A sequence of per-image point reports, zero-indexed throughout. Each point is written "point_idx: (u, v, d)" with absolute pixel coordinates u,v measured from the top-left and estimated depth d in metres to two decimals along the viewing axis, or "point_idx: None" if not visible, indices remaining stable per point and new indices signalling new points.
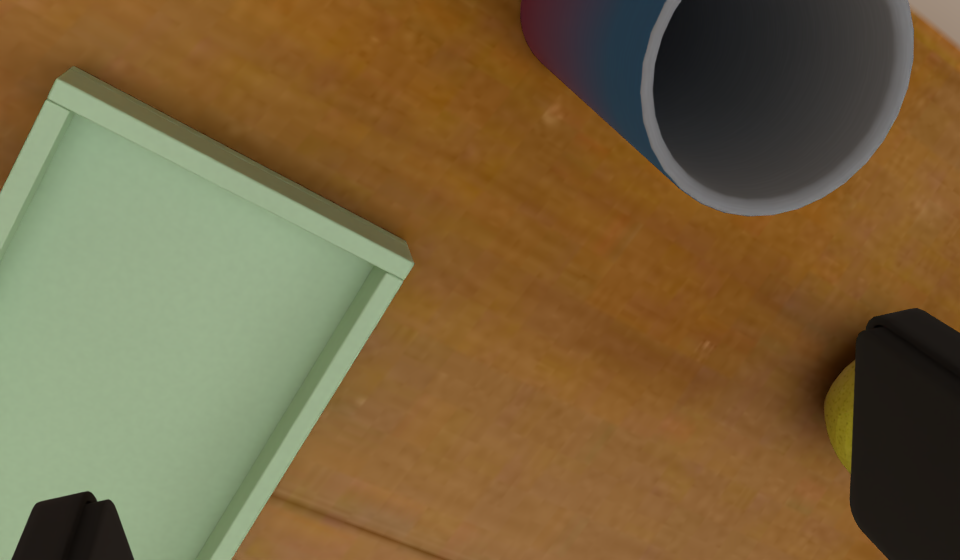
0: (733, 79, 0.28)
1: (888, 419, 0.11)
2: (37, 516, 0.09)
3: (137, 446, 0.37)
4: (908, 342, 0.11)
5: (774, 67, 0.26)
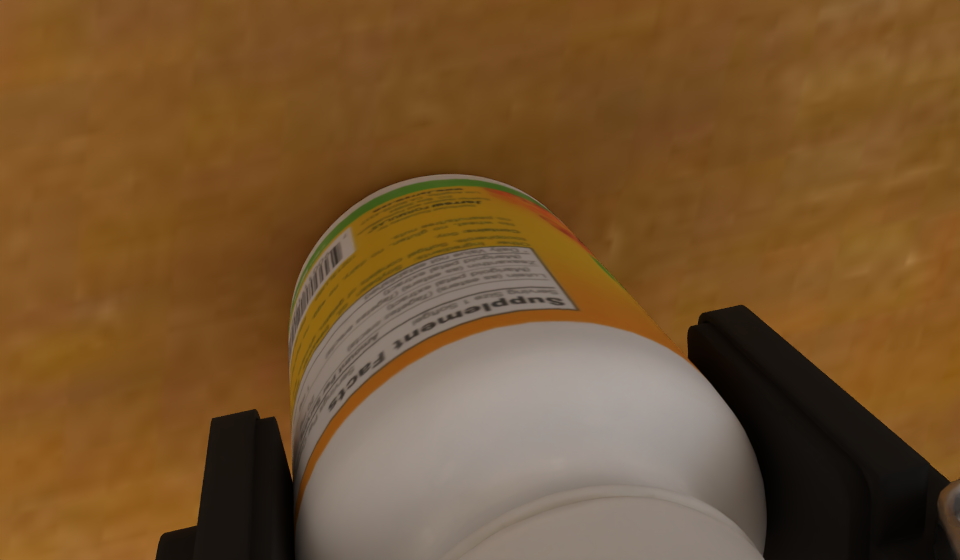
0: None
1: None
2: (217, 428, 0.11)
3: None
4: (728, 336, 0.11)
5: None
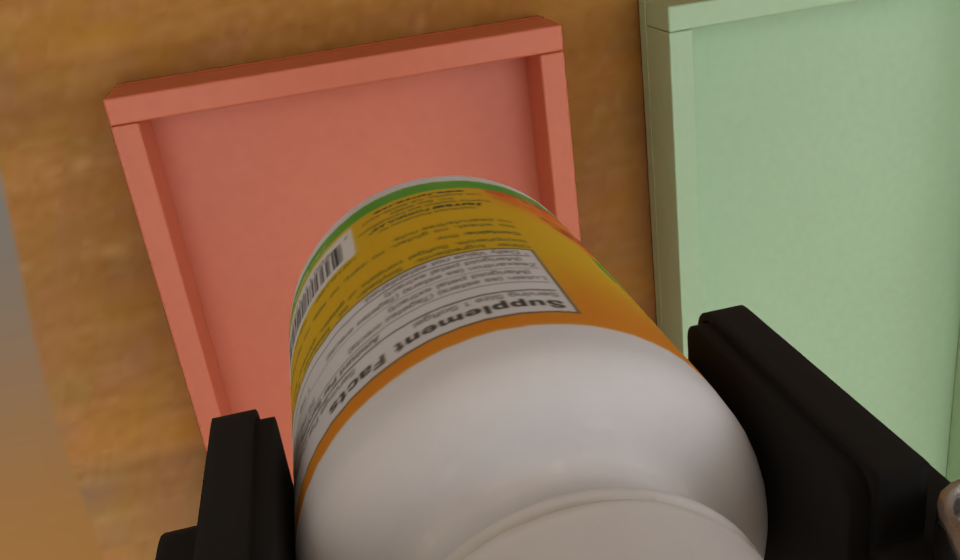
0: None
1: None
2: (217, 428, 0.11)
3: (861, 298, 0.36)
4: (728, 336, 0.11)
5: None
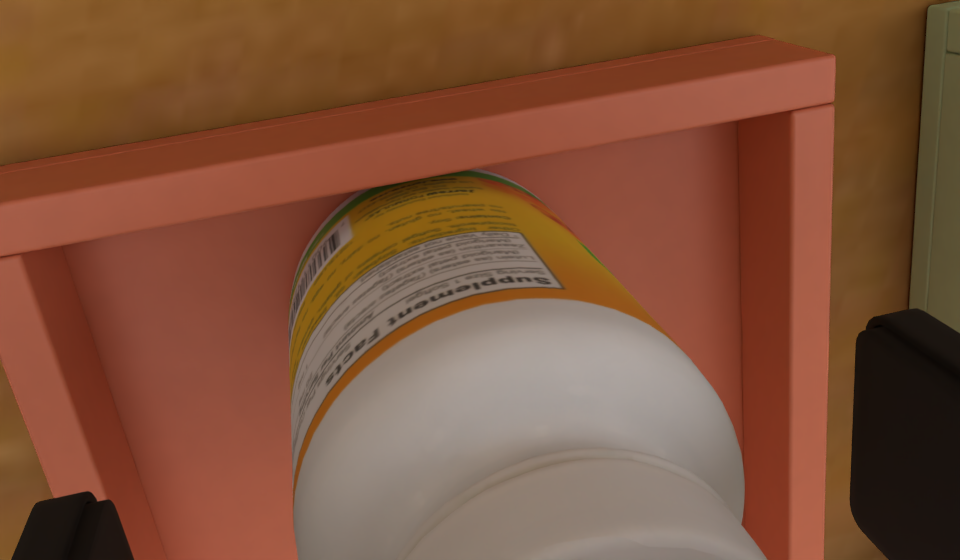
0: None
1: (888, 419, 0.11)
2: (37, 516, 0.09)
3: None
4: (908, 342, 0.11)
5: None
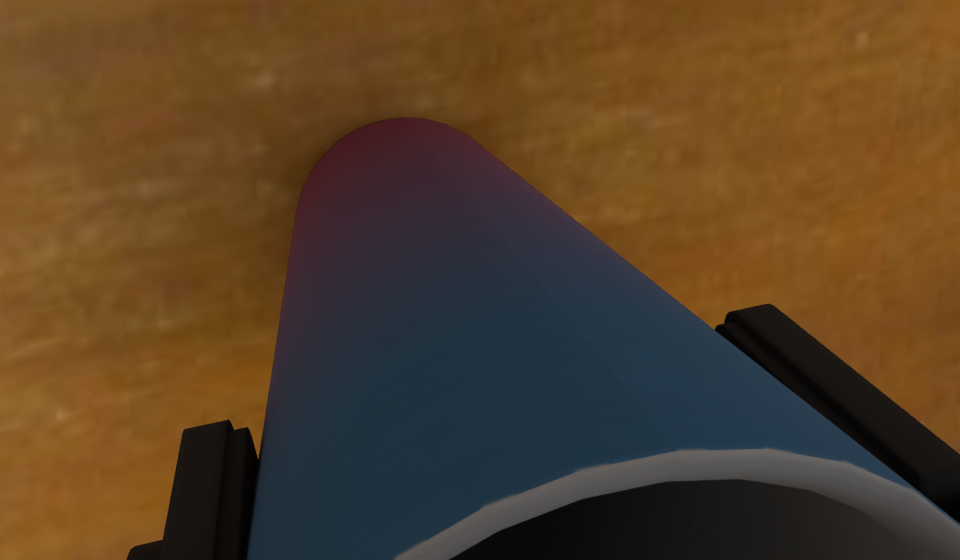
0: None
1: None
2: (188, 439, 0.10)
3: None
4: (755, 334, 0.11)
5: None
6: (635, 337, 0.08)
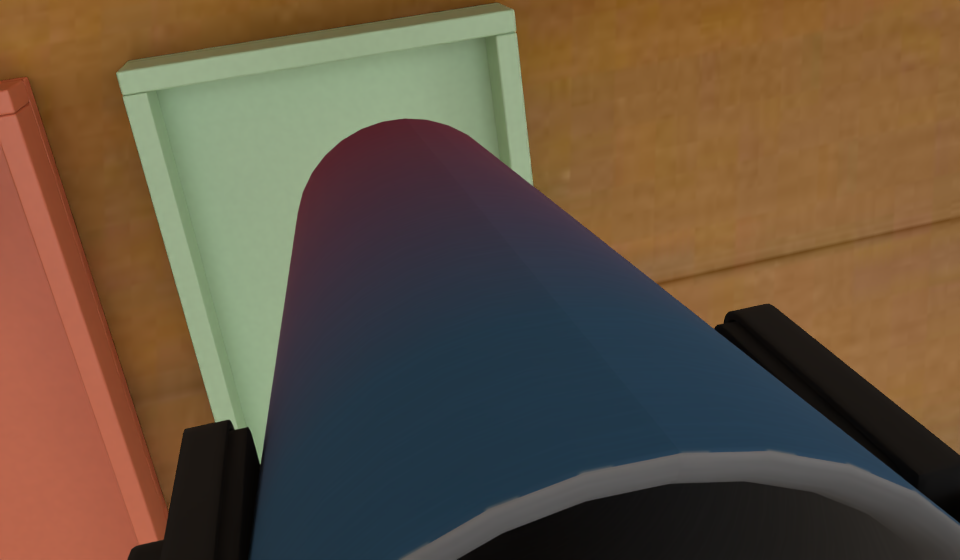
0: None
1: None
2: (189, 439, 0.10)
3: None
4: (755, 334, 0.11)
5: None
6: (638, 339, 0.08)
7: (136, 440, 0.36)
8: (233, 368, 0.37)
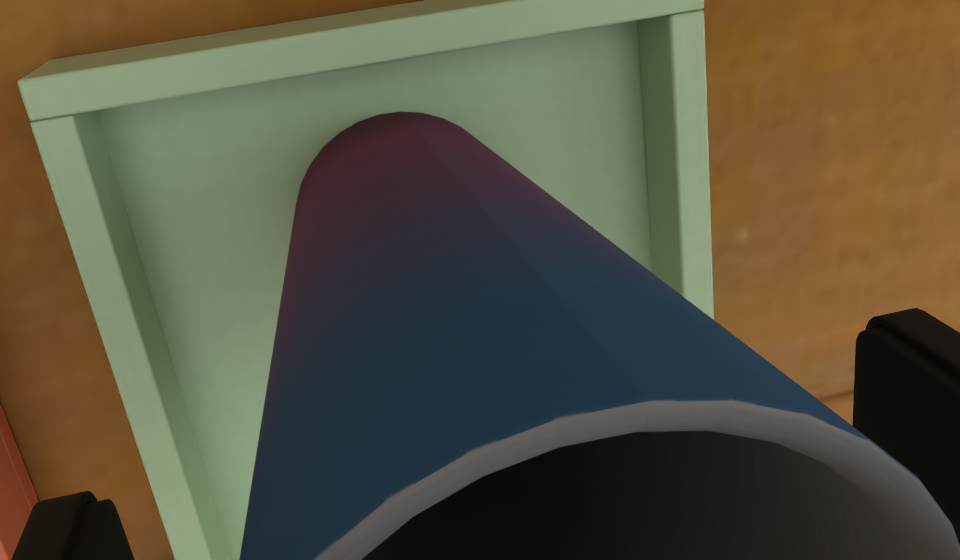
0: None
1: (888, 419, 0.11)
2: (37, 516, 0.09)
3: None
4: (908, 342, 0.11)
5: None
6: (615, 306, 0.09)
7: None
8: (229, 537, 0.24)
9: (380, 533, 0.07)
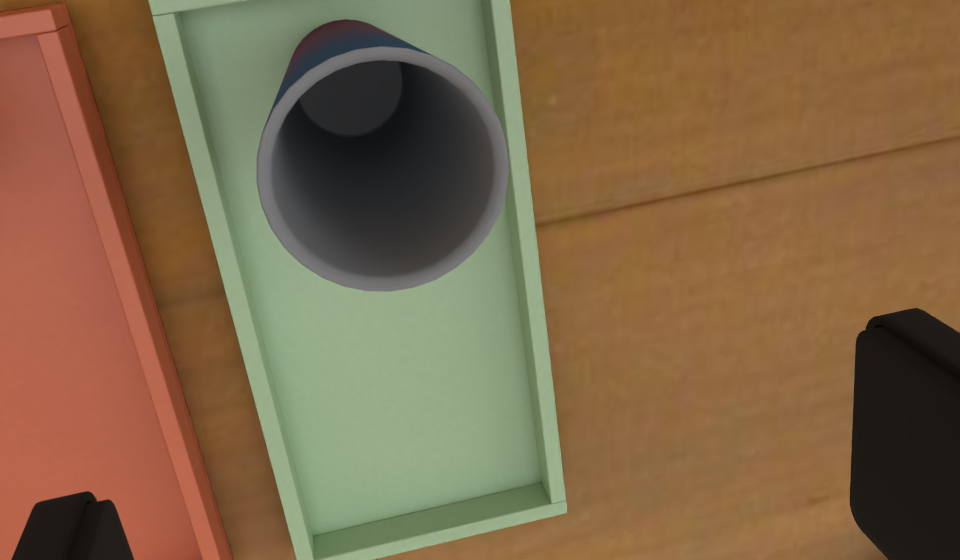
0: (441, 104, 0.31)
1: (888, 419, 0.11)
2: (37, 516, 0.09)
3: None
4: (908, 342, 0.11)
5: (445, 93, 0.29)
6: (391, 41, 0.25)
7: (161, 342, 0.40)
8: (249, 276, 0.40)
9: (306, 82, 0.23)
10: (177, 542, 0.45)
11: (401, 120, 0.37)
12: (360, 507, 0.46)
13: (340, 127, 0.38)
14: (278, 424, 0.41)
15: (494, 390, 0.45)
